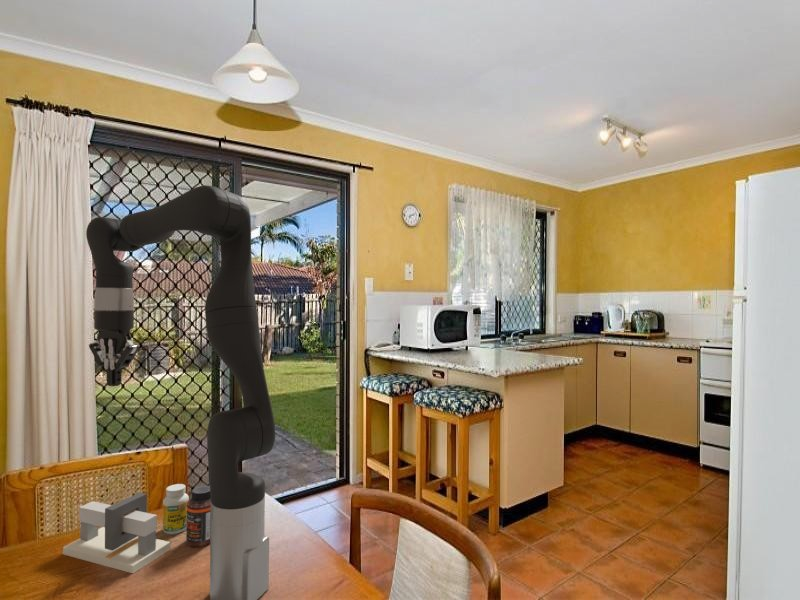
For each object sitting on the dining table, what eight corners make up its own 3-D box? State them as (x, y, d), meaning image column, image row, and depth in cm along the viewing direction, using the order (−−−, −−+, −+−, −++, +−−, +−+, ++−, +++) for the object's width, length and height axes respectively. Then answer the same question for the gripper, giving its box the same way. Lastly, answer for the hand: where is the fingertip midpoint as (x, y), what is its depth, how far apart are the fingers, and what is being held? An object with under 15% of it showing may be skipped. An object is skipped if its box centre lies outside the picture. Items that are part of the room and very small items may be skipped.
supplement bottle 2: (179, 545, 98) (180, 493, 98) (198, 532, 104) (198, 482, 104) (204, 549, 97) (204, 496, 97) (221, 535, 103) (222, 485, 103)
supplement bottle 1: (186, 521, 109) (187, 480, 109) (190, 530, 105) (191, 488, 105) (161, 527, 106) (161, 485, 106) (164, 537, 102) (164, 494, 102)
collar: (146, 531, 98) (146, 493, 98) (112, 550, 91) (112, 510, 91) (139, 529, 99) (139, 492, 99) (104, 548, 92) (105, 508, 91)
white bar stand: (170, 549, 97) (170, 508, 97) (133, 573, 89) (133, 528, 88) (103, 533, 103) (104, 494, 103) (62, 554, 95) (63, 512, 95)
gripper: (151, 308, 105) (150, 385, 105) (108, 307, 109) (107, 380, 109) (121, 309, 97) (121, 391, 98) (76, 308, 102) (76, 386, 102)
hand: (113, 385), depth 103 cm, fingers closed
